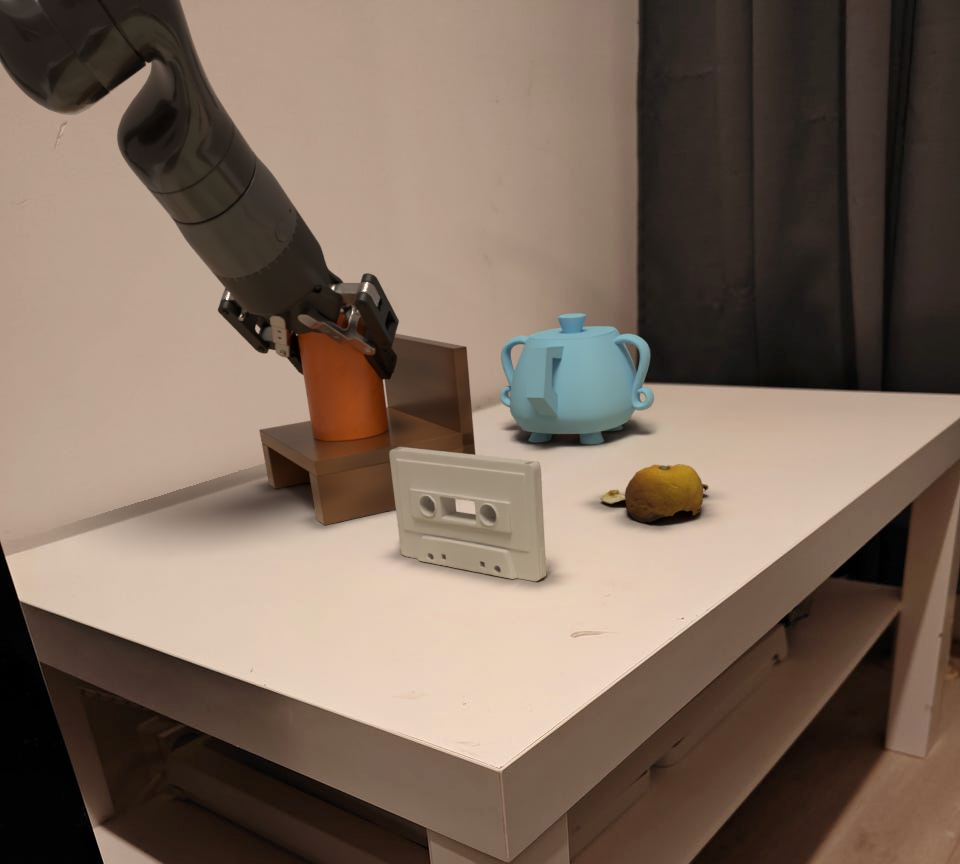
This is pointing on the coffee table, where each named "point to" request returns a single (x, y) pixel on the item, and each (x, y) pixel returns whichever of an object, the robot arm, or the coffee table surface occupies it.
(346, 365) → the can
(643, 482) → the fruit
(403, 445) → the shelf
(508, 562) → the cassette
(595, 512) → the coffee table surface
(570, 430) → the teapot
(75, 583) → the coffee table surface
